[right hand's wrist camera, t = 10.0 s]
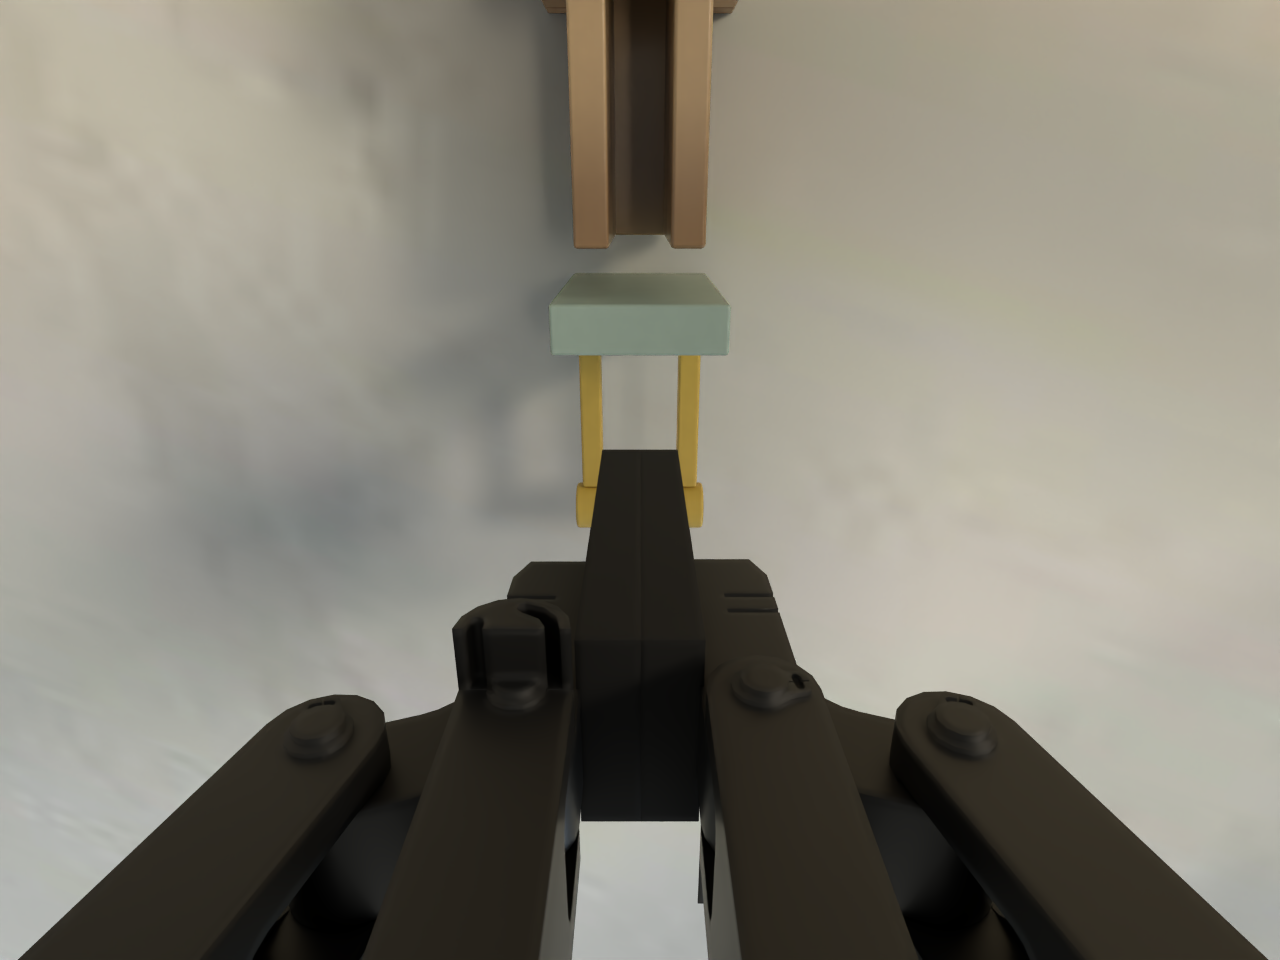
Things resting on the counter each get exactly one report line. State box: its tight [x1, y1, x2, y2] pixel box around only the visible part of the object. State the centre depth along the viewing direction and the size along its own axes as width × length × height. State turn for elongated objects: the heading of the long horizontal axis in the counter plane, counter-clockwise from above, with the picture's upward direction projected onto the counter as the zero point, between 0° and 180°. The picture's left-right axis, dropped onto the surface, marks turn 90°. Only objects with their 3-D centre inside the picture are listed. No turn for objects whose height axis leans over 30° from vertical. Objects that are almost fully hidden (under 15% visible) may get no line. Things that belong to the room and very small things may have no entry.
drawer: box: [549, 0, 731, 528], centre depth 18 cm, size 25×4×7 cm, turn 0°
